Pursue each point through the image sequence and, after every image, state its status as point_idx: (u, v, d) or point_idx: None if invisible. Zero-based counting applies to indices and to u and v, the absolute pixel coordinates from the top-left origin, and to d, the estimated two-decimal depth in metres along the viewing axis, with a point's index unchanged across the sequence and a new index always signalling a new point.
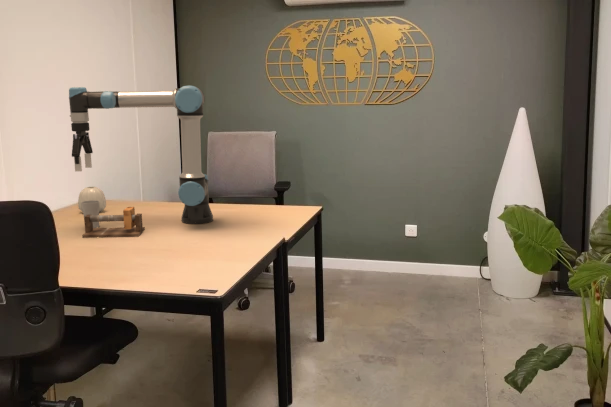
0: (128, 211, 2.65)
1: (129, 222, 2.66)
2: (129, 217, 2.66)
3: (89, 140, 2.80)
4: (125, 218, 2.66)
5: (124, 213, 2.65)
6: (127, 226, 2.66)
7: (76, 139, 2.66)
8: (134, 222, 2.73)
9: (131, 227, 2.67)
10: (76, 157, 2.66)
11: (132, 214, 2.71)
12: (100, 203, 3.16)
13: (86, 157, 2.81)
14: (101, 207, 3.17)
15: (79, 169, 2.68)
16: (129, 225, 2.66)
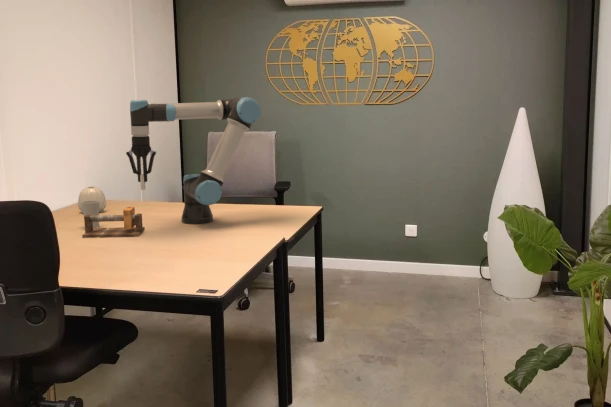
0: (128, 211, 2.65)
1: (129, 222, 2.66)
2: (129, 217, 2.66)
3: (151, 160, 2.65)
4: (125, 218, 2.66)
5: (124, 213, 2.65)
6: (127, 226, 2.66)
7: None
8: (134, 222, 2.73)
9: (131, 227, 2.67)
10: None
11: (132, 214, 2.71)
12: (100, 203, 3.16)
13: None
14: (101, 207, 3.17)
15: None
16: (129, 225, 2.66)
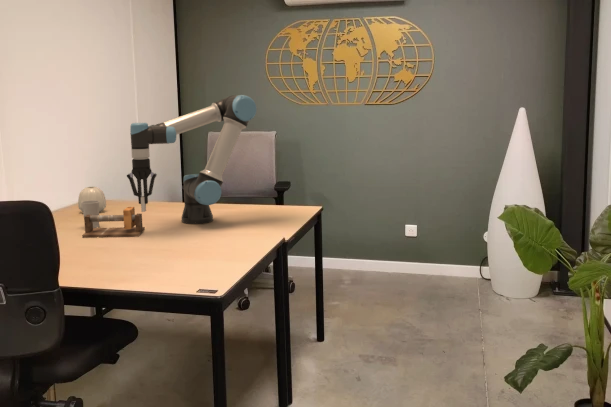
0: (128, 211, 2.65)
1: (129, 222, 2.66)
2: (129, 217, 2.66)
3: (151, 182, 2.66)
4: (125, 218, 2.66)
5: (124, 213, 2.65)
6: (127, 226, 2.66)
7: None
8: (134, 222, 2.73)
9: (131, 227, 2.67)
10: None
11: (132, 214, 2.71)
12: (100, 203, 3.16)
13: None
14: (101, 207, 3.17)
15: None
16: (129, 225, 2.66)
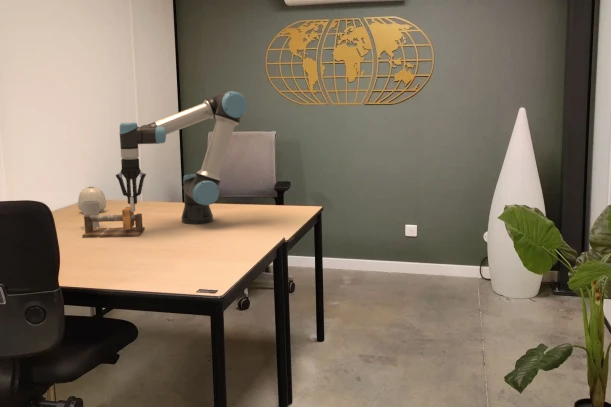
0: (127, 211, 2.65)
1: (128, 222, 2.66)
2: (128, 217, 2.66)
3: (140, 182, 2.66)
4: (124, 218, 2.66)
5: (123, 213, 2.65)
6: (126, 226, 2.66)
7: None
8: (133, 222, 2.73)
9: (130, 227, 2.67)
10: None
11: (131, 214, 2.71)
12: (100, 203, 3.16)
13: None
14: (101, 207, 3.17)
15: None
16: (128, 225, 2.66)
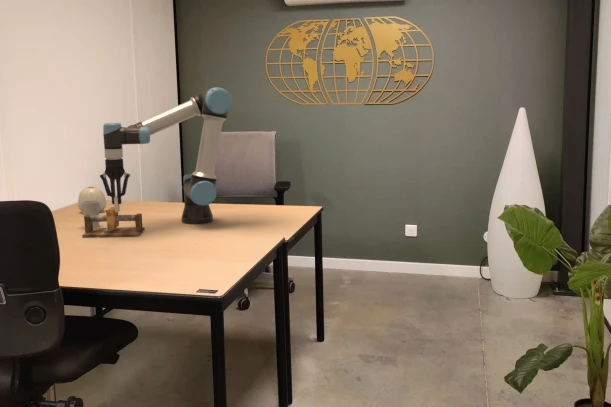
0: (111, 211, 2.65)
1: (112, 222, 2.66)
2: (112, 217, 2.65)
3: (124, 182, 2.66)
4: (108, 218, 2.65)
5: (107, 213, 2.65)
6: (110, 226, 2.66)
7: None
8: (117, 222, 2.73)
9: (114, 227, 2.67)
10: None
11: (115, 214, 2.71)
12: (100, 203, 3.16)
13: None
14: (101, 207, 3.17)
15: None
16: (112, 225, 2.66)
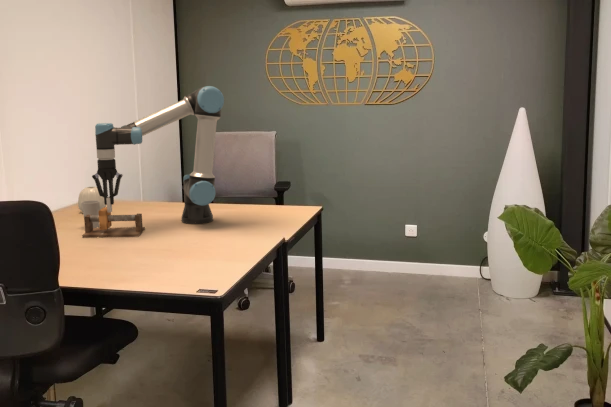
0: (103, 211, 2.65)
1: (104, 223, 2.65)
2: (104, 218, 2.65)
3: (117, 183, 2.66)
4: (100, 219, 2.65)
5: (99, 213, 2.65)
6: (102, 227, 2.66)
7: None
8: (110, 222, 2.72)
9: (107, 228, 2.66)
10: None
11: (108, 214, 2.71)
12: (100, 203, 3.16)
13: None
14: (101, 207, 3.17)
15: None
16: (104, 226, 2.66)
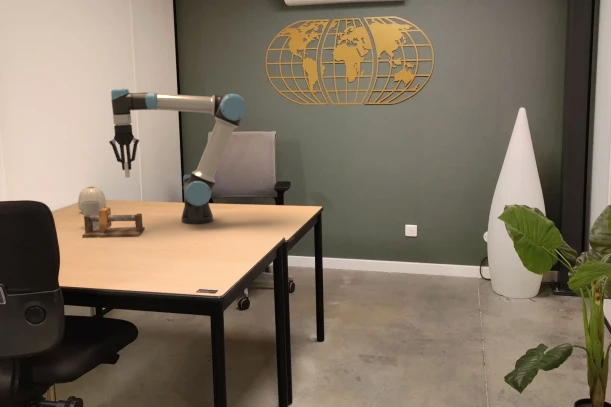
0: (103, 211, 2.65)
1: (104, 223, 2.65)
2: (104, 218, 2.65)
3: (134, 148, 2.69)
4: (100, 219, 2.65)
5: (99, 214, 2.65)
6: (102, 227, 2.66)
7: None
8: (110, 223, 2.72)
9: (106, 228, 2.66)
10: None
11: (108, 214, 2.71)
12: (100, 203, 3.16)
13: None
14: (101, 207, 3.17)
15: None
16: (104, 226, 2.66)
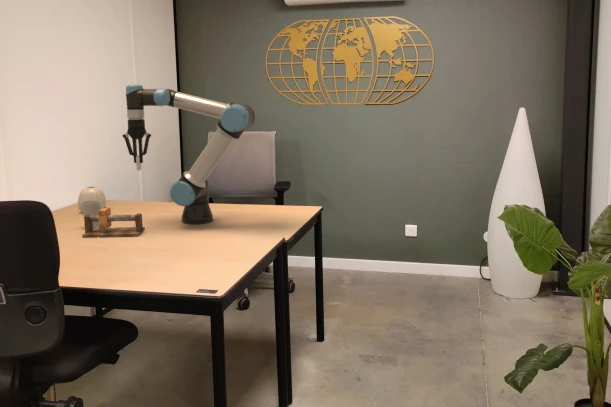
0: (103, 211, 2.65)
1: (104, 223, 2.65)
2: (104, 218, 2.65)
3: (146, 142, 2.79)
4: (100, 219, 2.65)
5: (99, 214, 2.65)
6: (102, 227, 2.66)
7: None
8: (110, 223, 2.72)
9: (106, 228, 2.66)
10: None
11: (108, 214, 2.71)
12: (100, 203, 3.16)
13: None
14: (101, 207, 3.17)
15: None
16: (104, 226, 2.66)
